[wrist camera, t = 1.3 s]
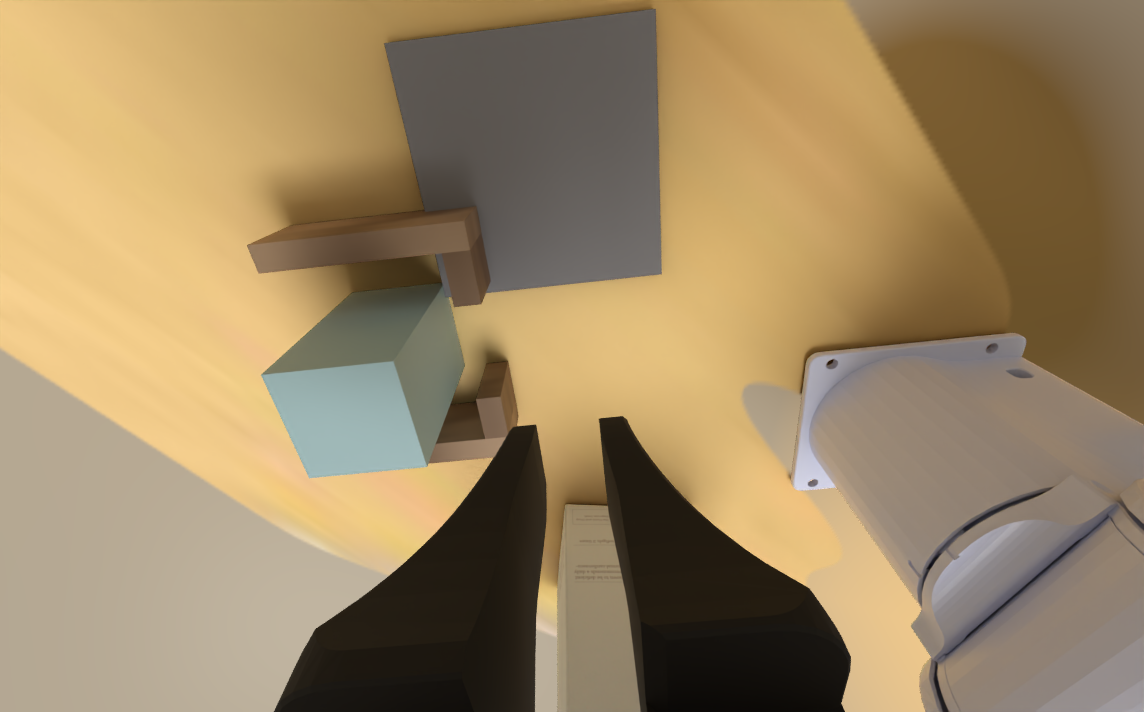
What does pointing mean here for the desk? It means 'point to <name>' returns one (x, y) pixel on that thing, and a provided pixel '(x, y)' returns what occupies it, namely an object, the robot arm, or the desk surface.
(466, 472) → the desk surface
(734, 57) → the desk surface
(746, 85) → the desk surface
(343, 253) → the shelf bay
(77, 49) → the desk surface
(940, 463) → the robot arm
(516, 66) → the mat
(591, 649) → the supplement box
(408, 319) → the block
